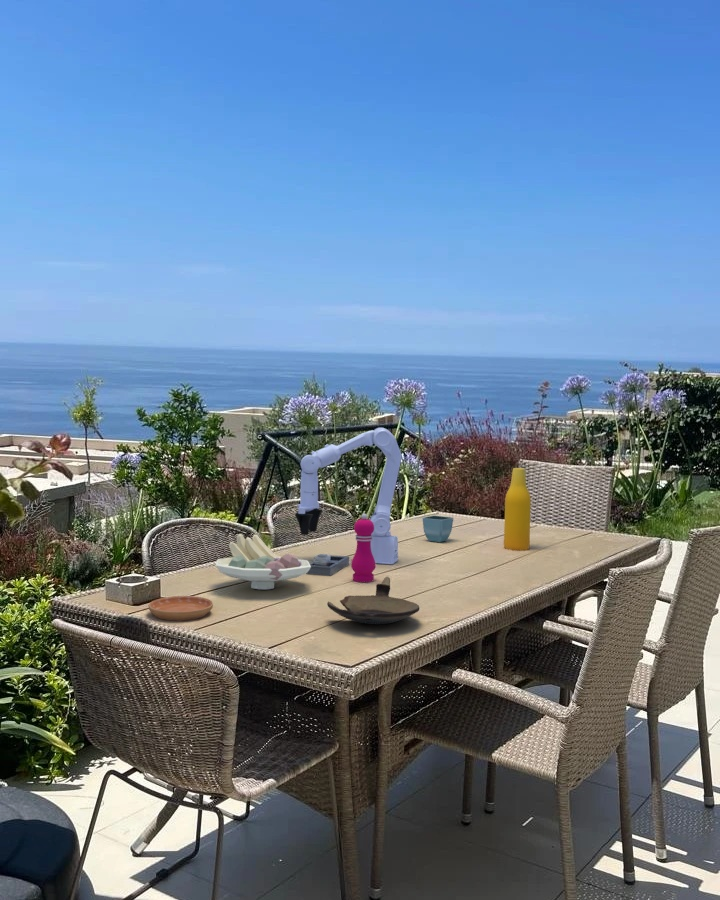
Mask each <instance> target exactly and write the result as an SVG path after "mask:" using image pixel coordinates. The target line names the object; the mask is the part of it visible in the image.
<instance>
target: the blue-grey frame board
mask: <svg viewBox="0 0 720 900" xmlns="http://www.w3.org/2000/svg"><path fill="white" fill-rule="evenodd" d="M329 555H330V554H329ZM330 556H331V566H316V565H314V561H312V562H309V564H310V566H311V568H310V569H309V571H308V572H307V573H306V574H305V575H314V576H315V575H316V576H324V577H325V576H327V577H331V576H332V575H334V574H336V573H337V572H340V571H341V570H342V569H344V568H345V567H347V566H349V565H350V556H344V555H330Z"/></svg>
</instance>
